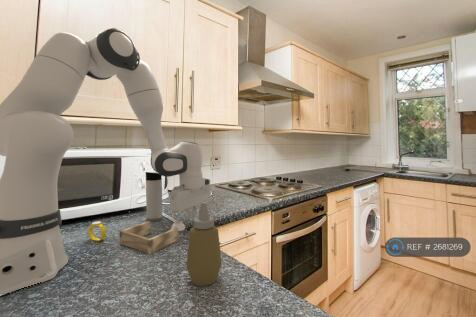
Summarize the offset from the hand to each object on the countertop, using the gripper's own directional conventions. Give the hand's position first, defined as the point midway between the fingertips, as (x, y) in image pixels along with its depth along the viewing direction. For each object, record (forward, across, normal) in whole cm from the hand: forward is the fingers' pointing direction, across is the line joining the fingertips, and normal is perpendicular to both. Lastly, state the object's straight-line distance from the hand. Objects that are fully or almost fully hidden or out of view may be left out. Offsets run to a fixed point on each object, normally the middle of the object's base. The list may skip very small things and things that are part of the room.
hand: (191, 217), depth 92 cm
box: (+2, -20, 0) cm, 20 cm away
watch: (+2, -28, +16) cm, 32 cm away
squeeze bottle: (+2, -28, -28) cm, 40 cm away
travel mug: (+3, -4, +17) cm, 18 cm away
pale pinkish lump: (+3, -8, 0) cm, 8 cm away
